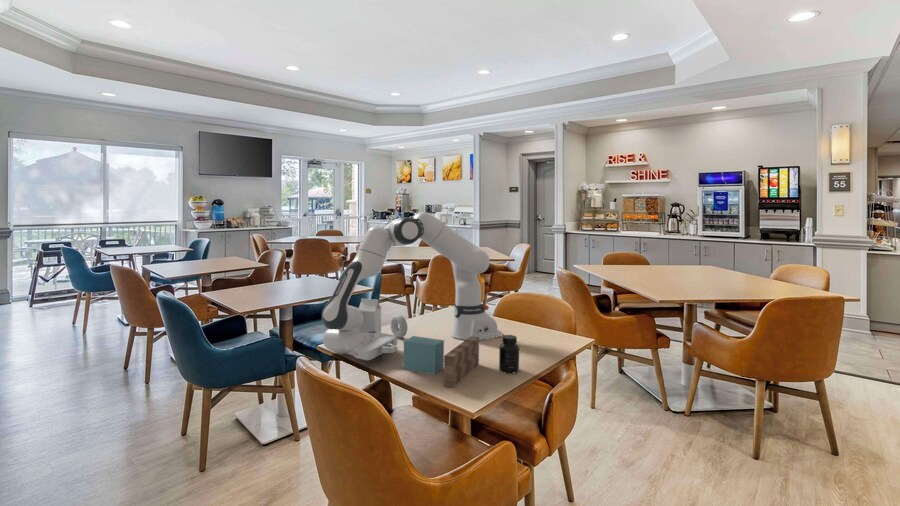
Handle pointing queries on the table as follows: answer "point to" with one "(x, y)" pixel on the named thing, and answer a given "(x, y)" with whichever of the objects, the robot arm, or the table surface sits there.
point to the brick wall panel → (461, 361)
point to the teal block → (424, 354)
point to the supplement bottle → (509, 354)
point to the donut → (402, 324)
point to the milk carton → (371, 315)
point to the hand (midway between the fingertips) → (395, 349)
